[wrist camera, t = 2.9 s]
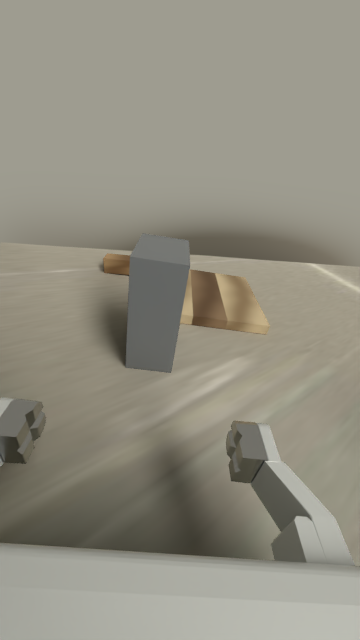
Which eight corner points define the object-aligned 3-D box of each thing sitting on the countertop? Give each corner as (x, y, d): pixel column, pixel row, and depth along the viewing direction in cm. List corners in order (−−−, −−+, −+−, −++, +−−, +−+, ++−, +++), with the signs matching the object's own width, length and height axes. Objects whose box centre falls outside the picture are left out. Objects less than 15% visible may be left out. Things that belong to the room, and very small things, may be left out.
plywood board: (148, 319, 29) (149, 310, 28) (158, 272, 40) (159, 265, 40) (266, 334, 29) (270, 326, 29) (243, 284, 41) (245, 277, 41)
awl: (104, 272, 37) (103, 258, 36) (108, 267, 39) (107, 253, 38) (178, 279, 38) (179, 265, 36) (178, 273, 39) (179, 260, 38)
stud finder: (125, 367, 22) (129, 256, 16) (136, 328, 27) (142, 233, 21) (171, 372, 22) (190, 265, 17) (173, 333, 27) (189, 240, 22)
